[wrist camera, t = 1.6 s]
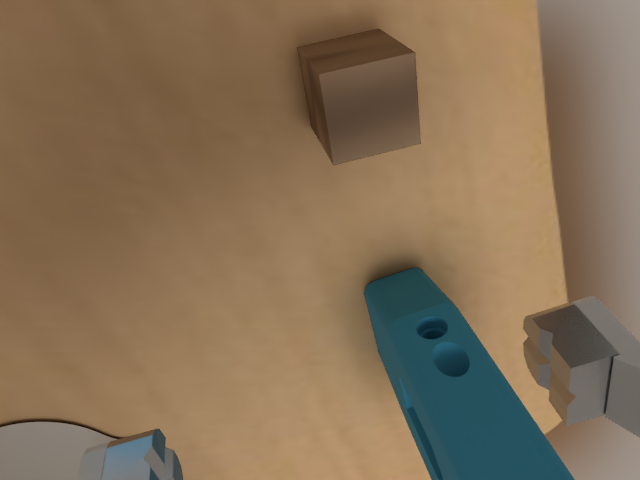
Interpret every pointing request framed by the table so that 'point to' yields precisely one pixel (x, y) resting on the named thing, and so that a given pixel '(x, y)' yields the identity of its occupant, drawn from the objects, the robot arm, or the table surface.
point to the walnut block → (361, 94)
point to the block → (453, 388)
